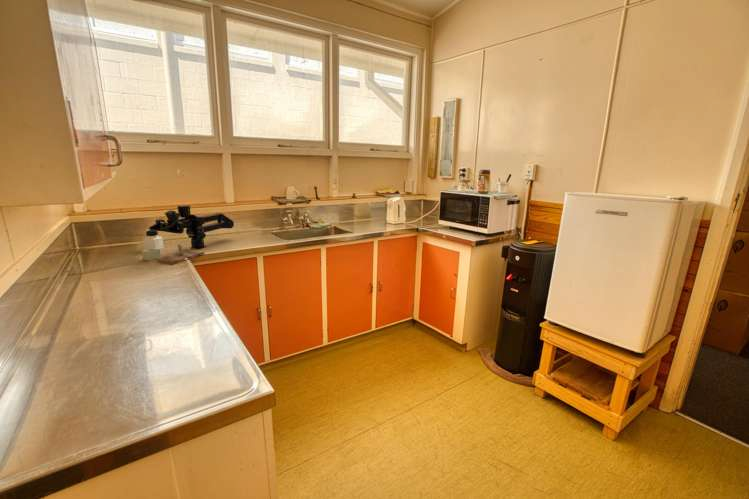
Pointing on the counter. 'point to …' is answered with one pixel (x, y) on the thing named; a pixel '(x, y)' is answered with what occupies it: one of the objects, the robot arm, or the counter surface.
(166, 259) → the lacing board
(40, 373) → the counter surface
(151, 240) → the medicine bottle
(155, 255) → the square hollow cube
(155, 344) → the counter surface
